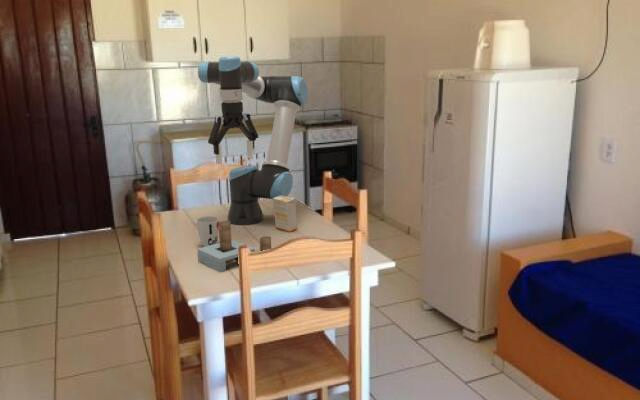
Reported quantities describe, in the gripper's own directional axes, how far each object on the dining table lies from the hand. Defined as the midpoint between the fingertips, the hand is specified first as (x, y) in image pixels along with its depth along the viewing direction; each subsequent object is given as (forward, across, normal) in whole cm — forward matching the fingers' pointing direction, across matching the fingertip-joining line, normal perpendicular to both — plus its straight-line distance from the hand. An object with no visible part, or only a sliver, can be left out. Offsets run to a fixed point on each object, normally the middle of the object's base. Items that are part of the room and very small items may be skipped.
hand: (235, 160), depth 202 cm
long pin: (+32, -14, -12) cm, 37 cm away
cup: (+32, -9, +7) cm, 34 cm away
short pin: (+32, 0, -16) cm, 36 cm away
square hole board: (+32, -14, -12) cm, 37 cm away
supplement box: (+31, +24, +1) cm, 40 cm away
